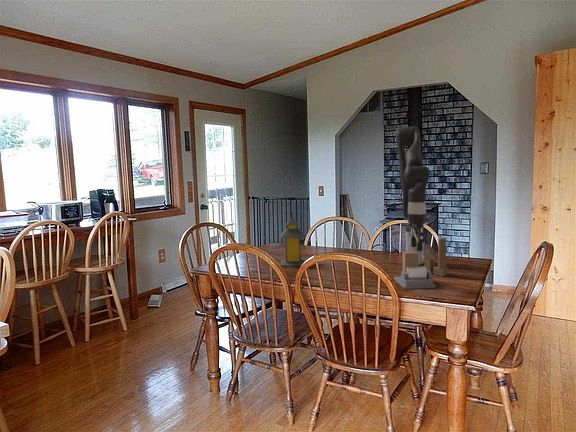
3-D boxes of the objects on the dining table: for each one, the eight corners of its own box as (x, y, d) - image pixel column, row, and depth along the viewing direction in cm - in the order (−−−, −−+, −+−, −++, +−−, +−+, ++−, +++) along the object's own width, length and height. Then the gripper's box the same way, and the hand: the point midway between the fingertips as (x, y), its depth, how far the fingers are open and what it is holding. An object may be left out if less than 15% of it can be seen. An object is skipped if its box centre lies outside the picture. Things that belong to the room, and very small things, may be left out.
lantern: (280, 266, 240) (278, 211, 236) (280, 261, 254) (279, 209, 250) (306, 266, 240) (305, 210, 236) (305, 260, 254) (303, 208, 250)
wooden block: (428, 271, 220) (428, 235, 218) (447, 275, 212) (448, 238, 210) (423, 272, 218) (424, 236, 216) (443, 276, 210) (443, 239, 208)
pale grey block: (406, 282, 199) (406, 267, 198) (423, 281, 199) (424, 266, 198) (408, 284, 195) (408, 268, 194) (426, 283, 195) (426, 268, 194)
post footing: (393, 278, 209) (393, 251, 207) (423, 277, 209) (423, 250, 207) (403, 289, 192) (403, 259, 190) (435, 287, 192) (436, 258, 191)
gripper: (403, 210, 200) (403, 246, 202) (413, 214, 186) (413, 252, 188) (420, 210, 200) (420, 245, 202) (431, 214, 186) (430, 252, 188)
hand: (416, 248), depth 195 cm, fingers open, 8 cm apart
